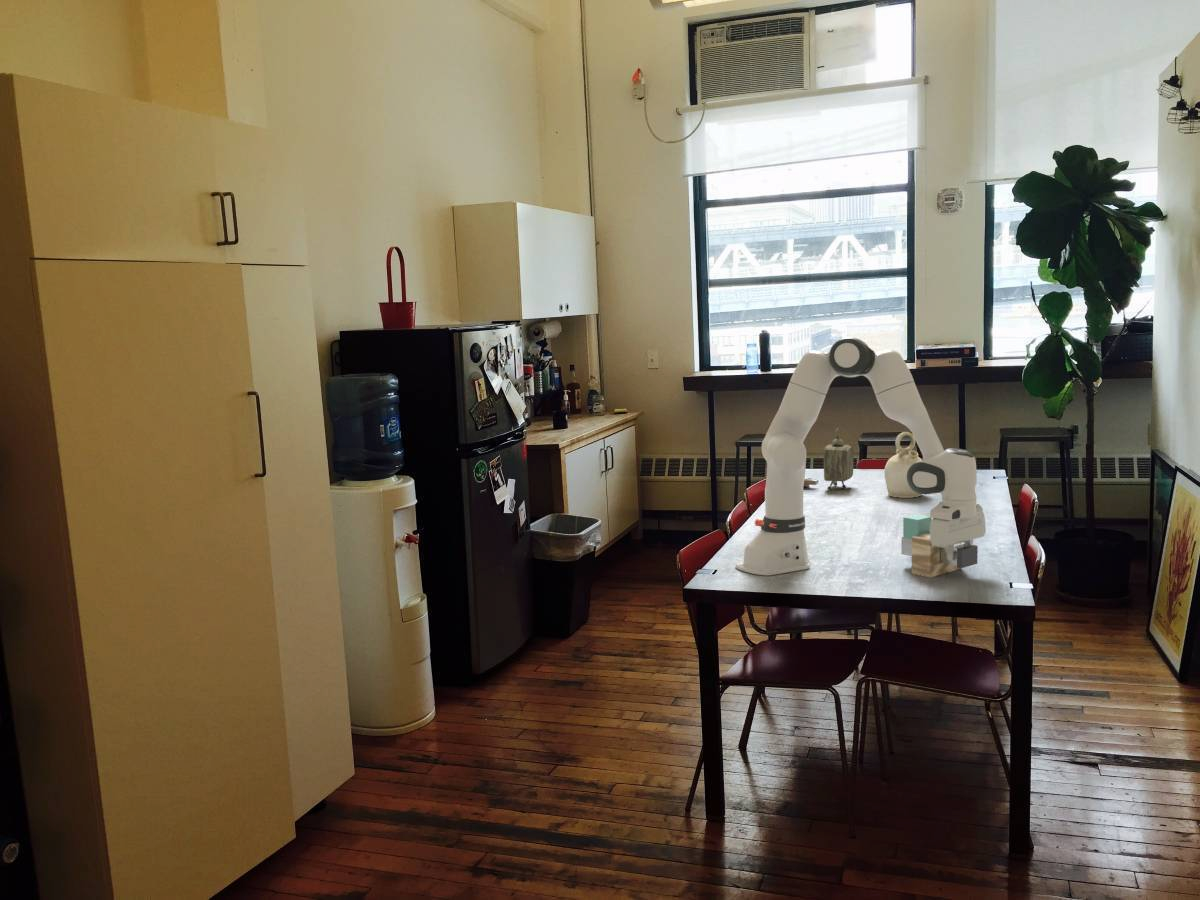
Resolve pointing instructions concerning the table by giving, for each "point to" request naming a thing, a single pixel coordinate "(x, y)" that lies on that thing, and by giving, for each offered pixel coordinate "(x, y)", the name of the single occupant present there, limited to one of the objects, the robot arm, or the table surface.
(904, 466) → the jug
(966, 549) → the shaft
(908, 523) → the block
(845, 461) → the tabletop clock
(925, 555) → the bearing block
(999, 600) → the table surface
